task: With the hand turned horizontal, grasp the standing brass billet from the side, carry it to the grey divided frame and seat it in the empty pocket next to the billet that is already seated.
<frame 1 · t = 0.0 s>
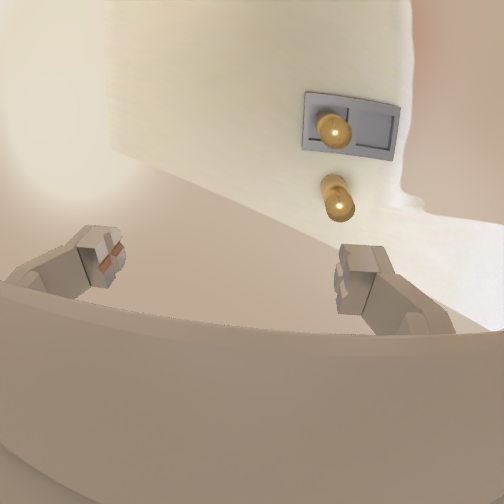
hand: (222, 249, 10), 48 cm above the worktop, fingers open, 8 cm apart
grey divided frame: (350, 125, 50), on the worktop
billet: (332, 185, 57), on the worktop
seated billet: (327, 122, 50), resting on grey divided frame
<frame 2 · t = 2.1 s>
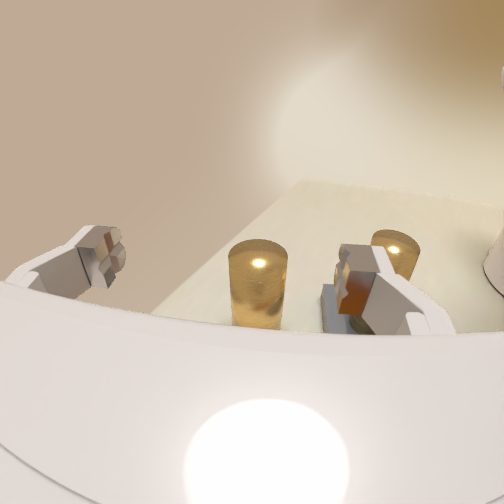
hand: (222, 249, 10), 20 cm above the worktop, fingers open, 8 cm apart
grey divided frame: (373, 355, 29), on the worktop
billet: (256, 336, 31), on the worktop
seated billet: (368, 321, 32), resting on grey divided frame
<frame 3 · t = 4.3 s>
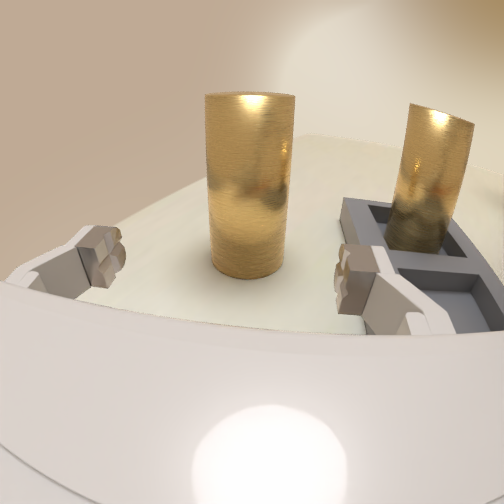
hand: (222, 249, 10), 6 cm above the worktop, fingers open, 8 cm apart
grey divided frame: (426, 287, 18), on the worktop
billet: (247, 256, 21), on the worktop
seated billet: (410, 246, 21), resting on grey divided frame
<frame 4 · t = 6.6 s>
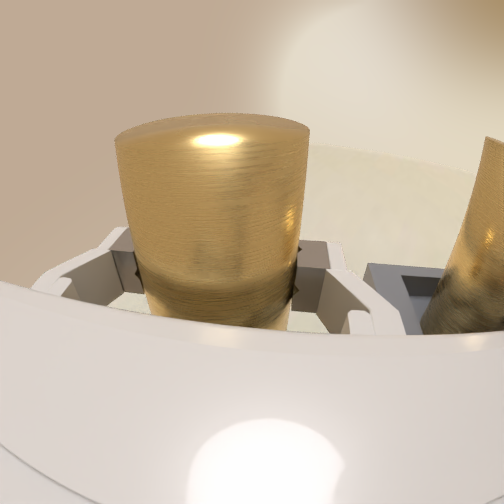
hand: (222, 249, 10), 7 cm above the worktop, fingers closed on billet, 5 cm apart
grey divided frame: (469, 403, 10), on the worktop
billet: (226, 373, 13), on the worktop, touching gripper
seated billet: (453, 335, 14), resting on grey divided frame
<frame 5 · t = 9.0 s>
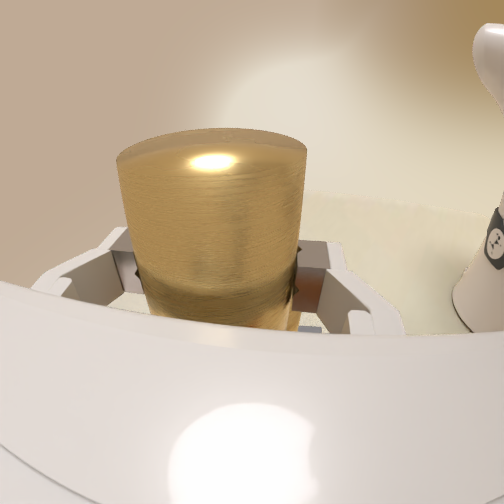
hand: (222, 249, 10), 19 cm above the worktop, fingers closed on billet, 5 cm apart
billet: (226, 378, 14), point 12 cm above the worktop, touching gripper
when the fingers open (8 cm above the worktop, at t = 11.6 s): billet stays where it is, resting on grey divided frame.
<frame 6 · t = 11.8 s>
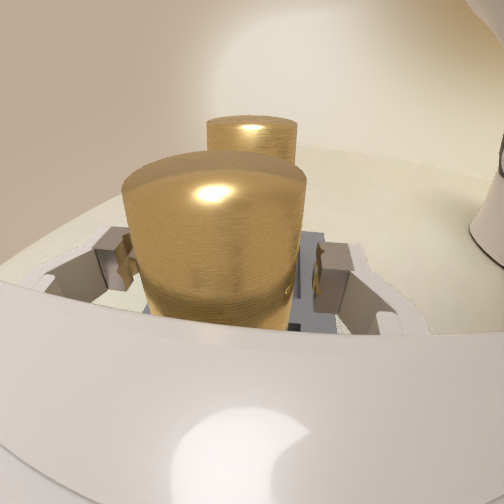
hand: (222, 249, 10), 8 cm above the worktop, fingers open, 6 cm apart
grey divided frame: (240, 329, 18), on the worktop
billet: (228, 387, 14), point 1 cm above the worktop, touching grey divided frame
seated billet: (249, 277, 21), resting on grey divided frame
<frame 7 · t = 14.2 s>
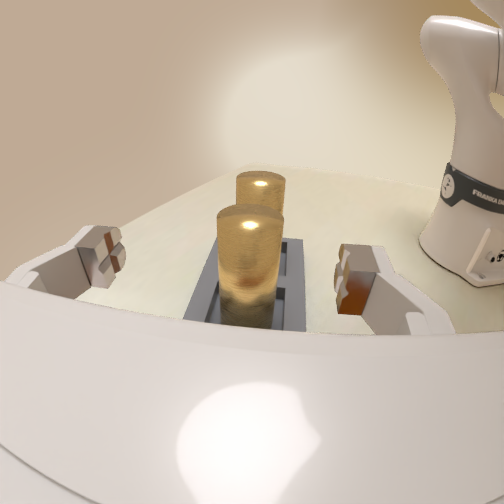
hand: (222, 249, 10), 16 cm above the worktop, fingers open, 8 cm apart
grey divided frame: (251, 294, 32), on the worktop
billet: (246, 320, 28), point 1 cm above the worktop, touching grey divided frame
seated billet: (256, 265, 36), resting on grey divided frame
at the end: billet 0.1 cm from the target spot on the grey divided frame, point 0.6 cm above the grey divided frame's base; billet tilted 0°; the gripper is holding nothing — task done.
